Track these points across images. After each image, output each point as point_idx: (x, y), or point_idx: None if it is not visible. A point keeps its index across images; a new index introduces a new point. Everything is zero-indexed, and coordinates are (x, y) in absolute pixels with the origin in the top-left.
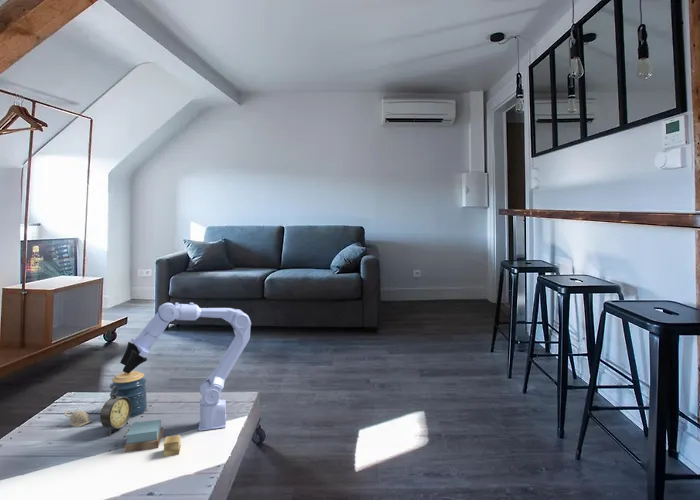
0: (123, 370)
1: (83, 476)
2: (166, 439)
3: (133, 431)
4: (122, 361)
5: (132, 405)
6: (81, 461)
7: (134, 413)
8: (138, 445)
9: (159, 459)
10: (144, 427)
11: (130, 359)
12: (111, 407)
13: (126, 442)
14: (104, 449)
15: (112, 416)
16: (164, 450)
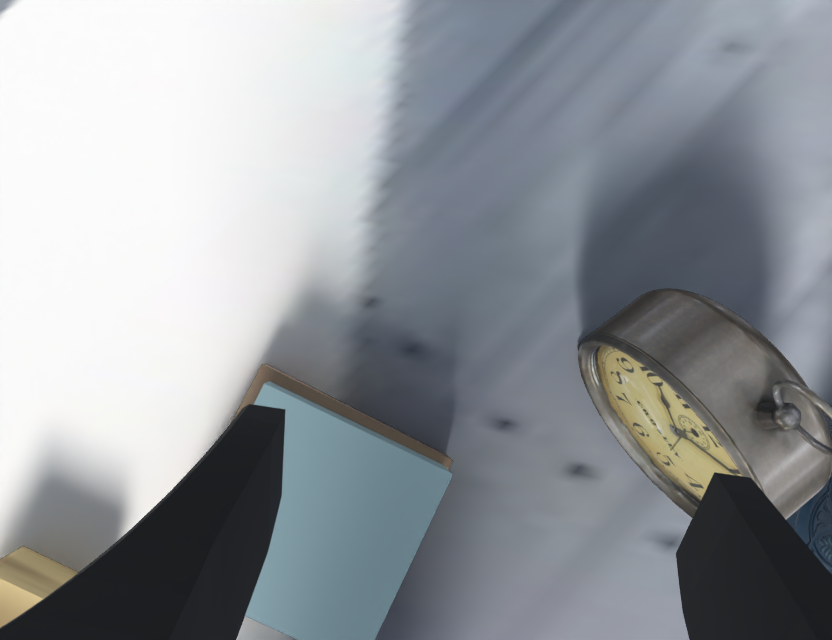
0: (241, 415)
1: (148, 110)
2: (32, 605)
3: (289, 437)
4: (723, 516)
5: (826, 565)
6: (344, 138)
7: None
8: None
9: (8, 510)
10: (303, 523)
11: (42, 601)
12: (646, 359)
13: (300, 385)
14: (405, 276)
15: (630, 368)
16: (3, 559)
